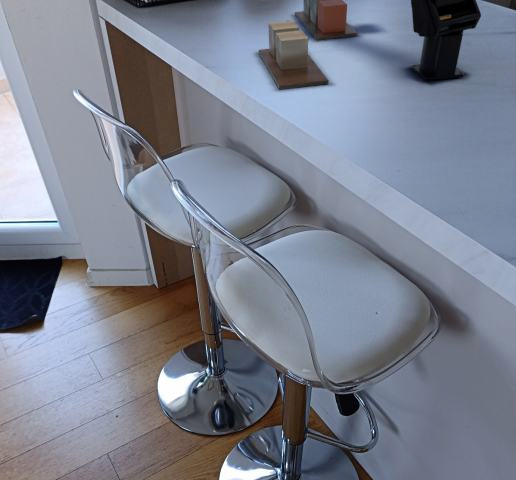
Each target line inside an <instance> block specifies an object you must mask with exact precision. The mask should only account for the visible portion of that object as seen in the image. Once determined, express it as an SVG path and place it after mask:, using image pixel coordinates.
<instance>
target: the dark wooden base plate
mask: <svg viewBox="0 0 516 480" xmlns="http://www.w3.org/2000/svg"><path fill="white" fill-rule="evenodd" d="M318 1H324V0H303V8H302V9H303V10H302V11H301V10H300V11H295V12H294V16H295V17H296V19H297V20H298V22H300V23H301V24H302V25H303V27H305V29H306V30H307V31H308V32H309V33H310V34H311V36H312V37H313V38H314V39H315V40H316V41H323V40H333V39H342V38H353V37H358V31H356V30H355V29H354V28H353V27H352V26H350V25H349V24H348V23H347V22H346V31H342V32H332V33H323V32H322V31H321V30H320V29H319V28H318V27H317V26H318Z"/></svg>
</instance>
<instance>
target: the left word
mask: <svg viewBox="0 0 516 480" xmlns="http://www.w3.org/2000/svg"><path fill="white" fill-rule="evenodd" d="M267 25H268V48H261V49H258V55H259V57H260V58H261V60H262V62H263V63H264V65H265V67H266V68H267V70H268V72H269V74H270V75H271V77H272V80H273V81H274V82H275V84H276V87H278V89H279V90H287V89H296V88H306V87H313V86H322V85H324V86H325V85H329V80H328V78H327V77H326V75H325V74H324V73H323V71H322V69H320V68H319V66H318V65H317V64H316V63H315V61H314V60H313V59H312V58H311V56H310V55H309V37H308V36H307V35H306V34H305V32H304V31H303V30H300V26H299V25H298V24H297V23H296V22H295V21H294V20H292V19H291V20H283V21H273V22H268V24H267Z"/></svg>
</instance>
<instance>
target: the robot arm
mask: <svg viewBox="0 0 516 480" xmlns="http://www.w3.org/2000/svg"><path fill="white" fill-rule="evenodd" d="M410 5H411V6H410V7H411V14H412V16H411V18H412V26H413V27H412V29H413V30H412V31H413V32H414V33H415V34H418V36H419V37H422V38H423V43H422V49H421V55H420V61H419V63H417V64H415V63H414V64H411V66H410V69H411V70H412V71H413V72H414V73H416V74H417V75H418V76H419V77H420V78H421V79H423V81H436V80H447V79H454V78H455V79H456V78H462V77H464V76H465V72H464V71H462V70H461V69H460V68H459V67H457V66H458V61H459V56H460V52H461V47H462V41H463V36H464V31H467V30H473V29H476V27H477V25H478V24H479V22H480V19H481V18H482V13H481V10H480V8H479V5H478V3H477V0H410ZM447 15H451V18H447V19H443V20H440V17H442V16H447Z"/></svg>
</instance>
